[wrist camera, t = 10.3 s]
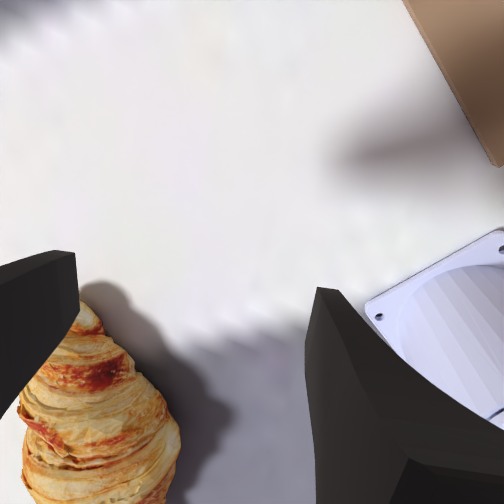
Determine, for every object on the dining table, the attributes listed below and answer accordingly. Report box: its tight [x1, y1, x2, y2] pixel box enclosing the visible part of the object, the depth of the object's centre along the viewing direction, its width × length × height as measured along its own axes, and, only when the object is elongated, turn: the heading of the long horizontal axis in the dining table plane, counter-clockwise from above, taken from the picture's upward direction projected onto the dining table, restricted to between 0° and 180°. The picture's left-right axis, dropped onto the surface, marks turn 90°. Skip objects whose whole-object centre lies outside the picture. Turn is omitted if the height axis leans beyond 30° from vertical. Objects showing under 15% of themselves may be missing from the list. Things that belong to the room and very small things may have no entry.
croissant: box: [17, 300, 181, 504], centre depth 25 cm, size 21×10×8 cm, turn 7°
